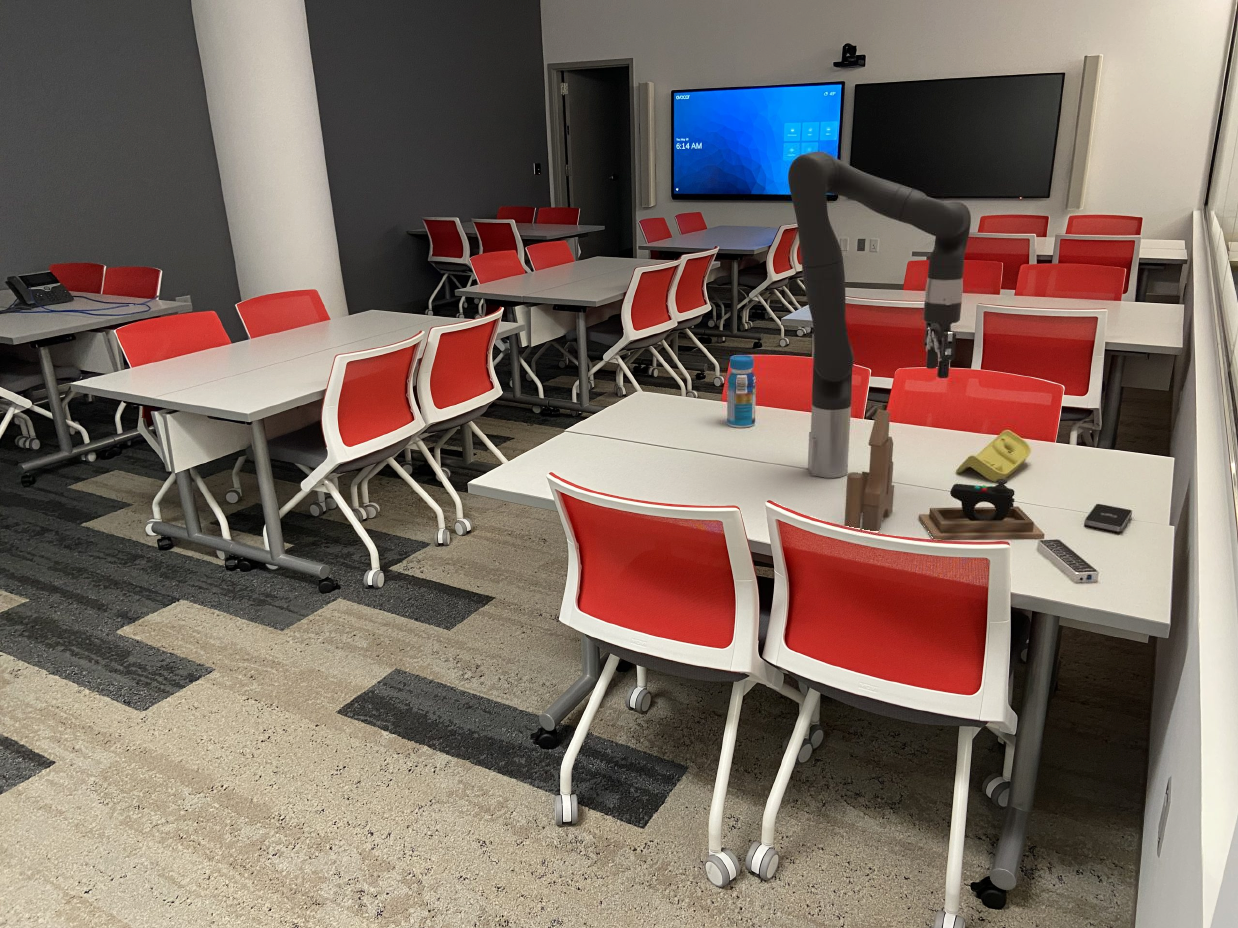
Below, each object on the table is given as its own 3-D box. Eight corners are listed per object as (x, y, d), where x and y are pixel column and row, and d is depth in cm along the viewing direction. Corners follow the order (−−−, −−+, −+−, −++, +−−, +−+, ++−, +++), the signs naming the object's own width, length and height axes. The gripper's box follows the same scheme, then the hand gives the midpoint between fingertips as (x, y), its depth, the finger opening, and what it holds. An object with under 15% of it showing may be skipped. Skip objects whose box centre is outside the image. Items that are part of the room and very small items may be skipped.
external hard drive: (1131, 518, 186) (1132, 510, 186) (1120, 536, 178) (1121, 527, 178) (1095, 511, 190) (1096, 503, 190) (1082, 529, 182) (1083, 520, 182)
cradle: (933, 540, 179) (934, 526, 178) (918, 518, 190) (919, 505, 189) (1043, 538, 178) (1045, 524, 177) (1023, 516, 188) (1024, 503, 187)
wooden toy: (862, 507, 197) (868, 399, 188) (892, 512, 194) (900, 402, 185) (842, 533, 184) (848, 418, 176) (874, 538, 181) (882, 422, 172)
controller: (1011, 531, 179) (1016, 485, 176) (946, 523, 184) (951, 479, 181) (1011, 523, 183) (1016, 478, 180) (948, 515, 188) (952, 472, 184)
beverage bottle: (720, 424, 258) (720, 357, 251) (739, 418, 263) (739, 352, 256) (743, 430, 252) (743, 362, 245) (761, 423, 257) (762, 356, 251)
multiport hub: (1057, 549, 174) (1059, 538, 173) (1098, 583, 161) (1100, 572, 160) (1035, 550, 174) (1037, 539, 173) (1074, 584, 160) (1076, 573, 160)
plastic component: (1003, 476, 205) (967, 451, 209) (987, 498, 210) (952, 473, 214) (1037, 448, 217) (1002, 425, 222) (1022, 470, 222) (987, 447, 227)
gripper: (916, 294, 196) (910, 365, 201) (935, 305, 182) (928, 381, 188) (950, 293, 195) (944, 365, 201) (972, 304, 182) (964, 380, 187)
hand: (936, 373), depth 194 cm, fingers open, 8 cm apart
